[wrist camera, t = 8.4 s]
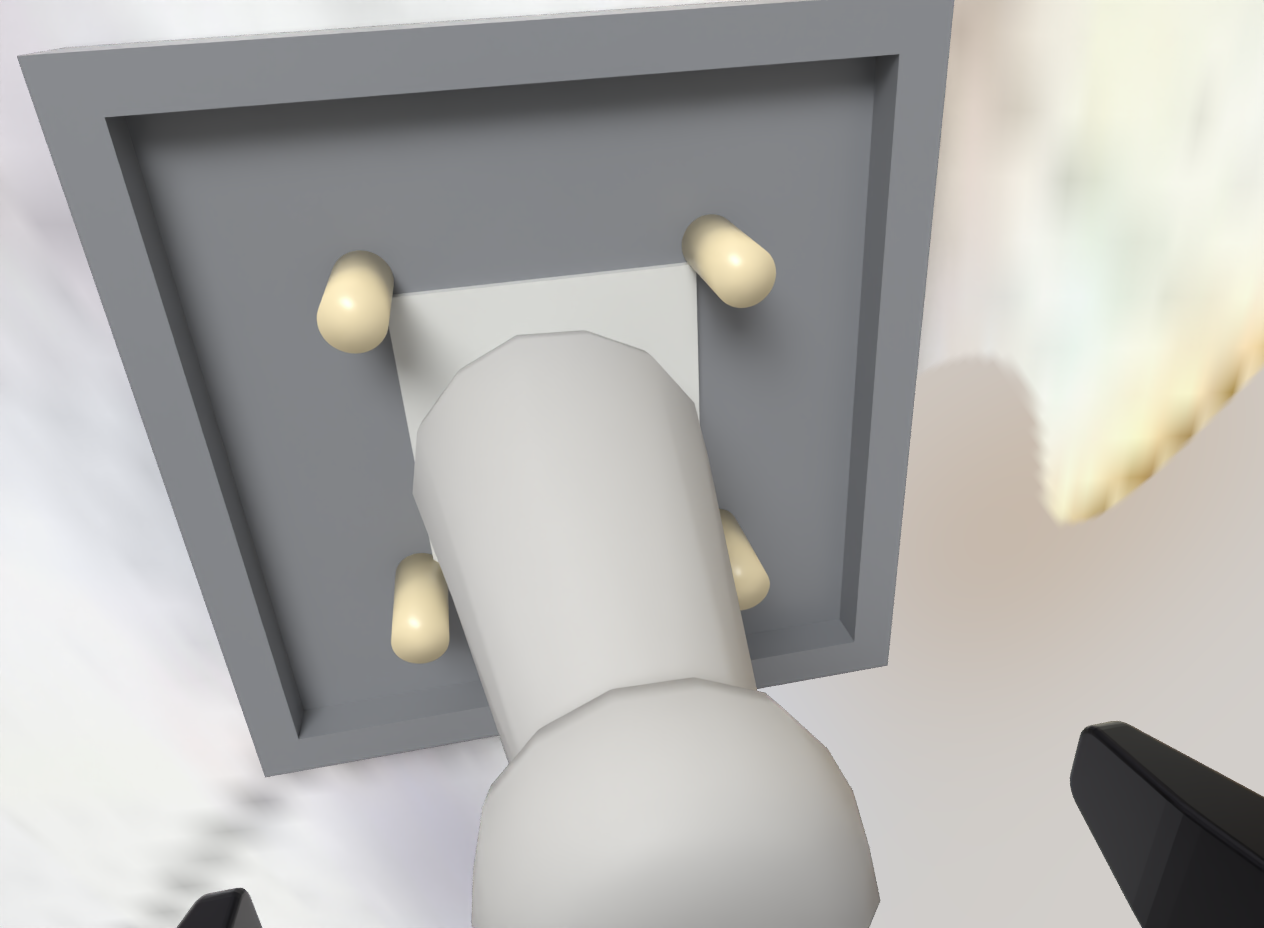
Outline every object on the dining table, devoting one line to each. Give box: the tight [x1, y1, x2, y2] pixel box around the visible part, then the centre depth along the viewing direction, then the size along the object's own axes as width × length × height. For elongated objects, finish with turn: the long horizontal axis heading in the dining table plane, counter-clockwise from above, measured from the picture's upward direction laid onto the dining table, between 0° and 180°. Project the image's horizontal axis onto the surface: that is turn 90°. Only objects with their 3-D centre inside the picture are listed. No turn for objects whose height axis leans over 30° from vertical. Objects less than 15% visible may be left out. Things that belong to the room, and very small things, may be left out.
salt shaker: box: [412, 330, 880, 928], centre depth 14 cm, size 6×6×13 cm
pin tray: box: [17, 0, 954, 777], centre depth 20 cm, size 16×16×4 cm
